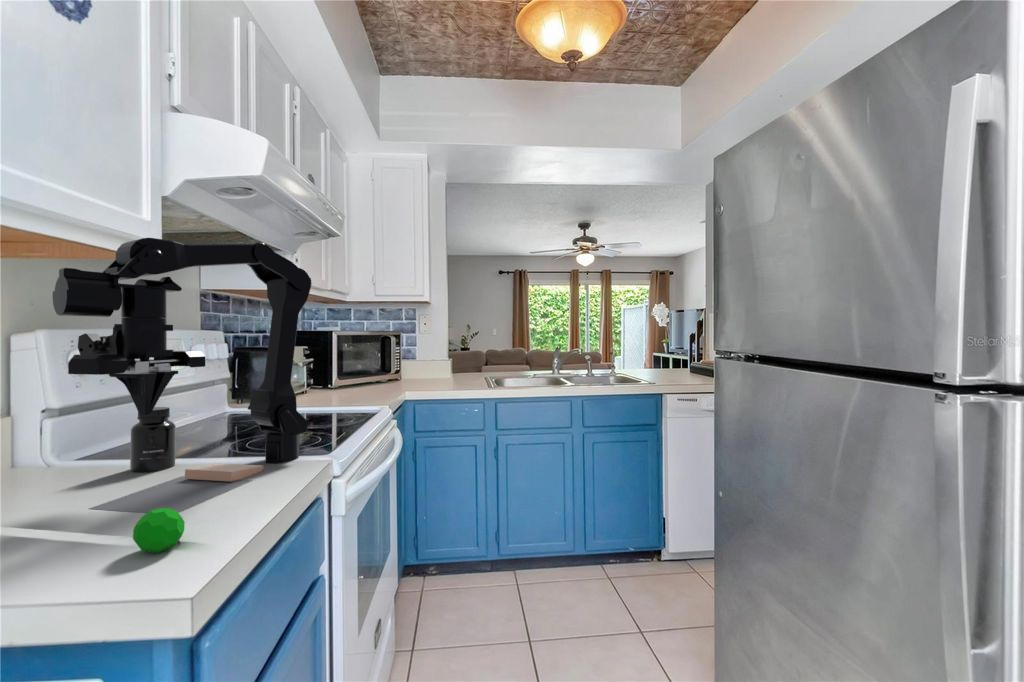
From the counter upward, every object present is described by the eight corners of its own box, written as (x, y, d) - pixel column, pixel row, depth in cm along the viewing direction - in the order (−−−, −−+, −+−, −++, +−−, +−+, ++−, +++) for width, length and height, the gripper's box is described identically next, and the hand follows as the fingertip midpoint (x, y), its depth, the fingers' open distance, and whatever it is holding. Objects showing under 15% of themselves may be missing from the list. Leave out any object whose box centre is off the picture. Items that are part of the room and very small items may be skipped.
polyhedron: (146, 542, 59) (146, 504, 59) (191, 539, 60) (191, 501, 60) (124, 561, 54) (124, 520, 54) (172, 557, 55) (172, 516, 55)
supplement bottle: (147, 478, 85) (146, 412, 85) (121, 475, 87) (120, 410, 87) (184, 468, 92) (184, 406, 92) (159, 465, 94) (158, 405, 94)
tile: (184, 478, 82) (219, 471, 90) (230, 481, 80) (262, 474, 88) (185, 469, 82) (220, 463, 90) (231, 471, 80) (263, 465, 88)
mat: (182, 480, 84) (182, 476, 84) (253, 484, 82) (253, 480, 82) (88, 514, 68) (88, 508, 68) (173, 520, 66) (173, 514, 66)
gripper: (153, 320, 86) (153, 405, 86) (35, 315, 68) (36, 424, 68) (207, 320, 84) (208, 407, 85) (101, 315, 66) (102, 427, 66)
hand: (144, 415), depth 76 cm, fingers closed
